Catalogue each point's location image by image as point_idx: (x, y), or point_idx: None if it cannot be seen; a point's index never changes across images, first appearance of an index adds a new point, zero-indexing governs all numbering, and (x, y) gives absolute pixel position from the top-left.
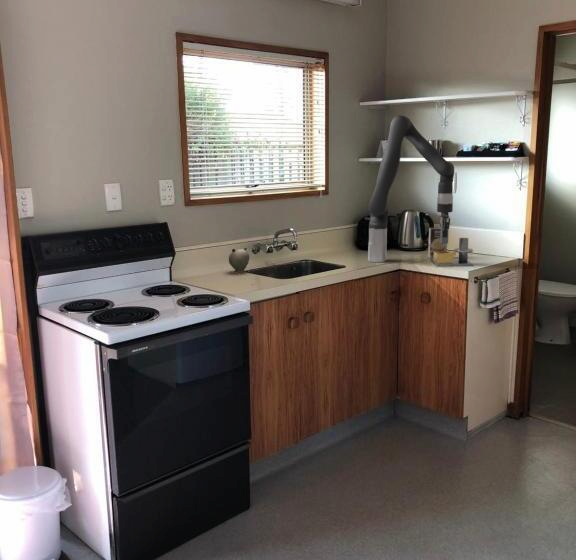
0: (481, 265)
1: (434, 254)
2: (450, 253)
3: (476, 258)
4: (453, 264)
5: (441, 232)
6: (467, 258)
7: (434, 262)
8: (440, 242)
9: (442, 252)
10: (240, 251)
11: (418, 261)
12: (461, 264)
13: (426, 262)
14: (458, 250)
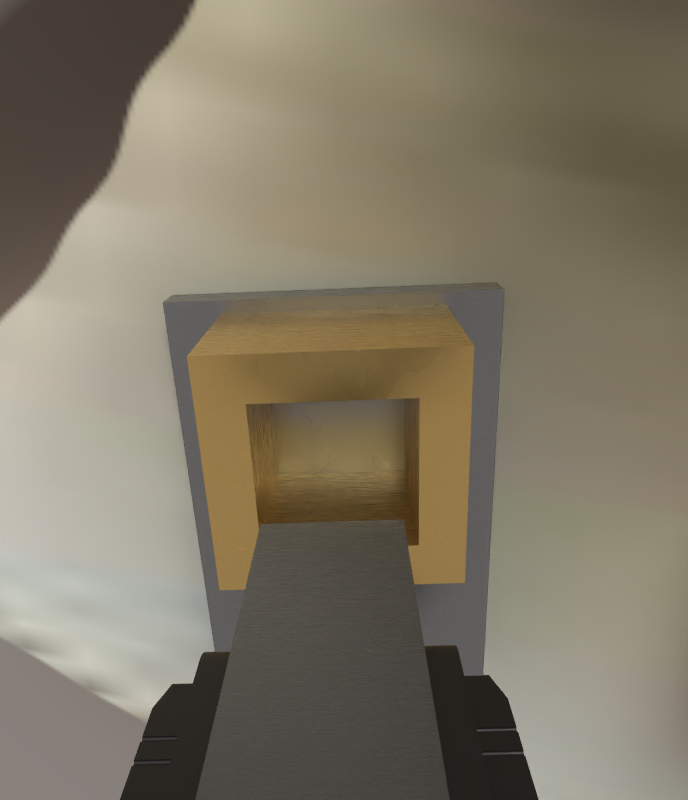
0: None
1: (406, 334)
2: (214, 552)
3: (681, 777)
4: (194, 501)
5: (277, 735)
6: None
7: (315, 295)
8: (375, 525)
9: (417, 469)
10: None
11: (618, 95)
12: (207, 580)
13: (509, 209)
14: None
